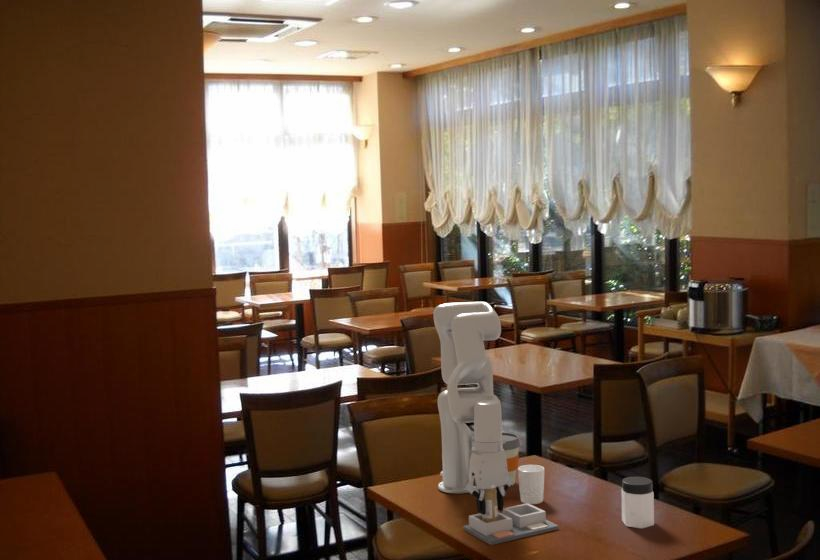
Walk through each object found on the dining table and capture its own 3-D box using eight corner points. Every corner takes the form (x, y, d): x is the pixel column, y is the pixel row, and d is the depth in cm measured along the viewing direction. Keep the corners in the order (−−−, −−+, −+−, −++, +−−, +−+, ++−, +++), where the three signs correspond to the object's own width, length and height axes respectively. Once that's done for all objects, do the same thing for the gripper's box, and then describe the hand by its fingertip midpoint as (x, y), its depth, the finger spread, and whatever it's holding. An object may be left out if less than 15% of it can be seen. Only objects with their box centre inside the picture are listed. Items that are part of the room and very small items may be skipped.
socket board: (463, 529, 258) (462, 515, 258) (529, 514, 268) (528, 501, 268) (490, 545, 246) (490, 530, 246) (558, 529, 256) (558, 514, 256)
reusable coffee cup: (527, 480, 302) (525, 434, 300) (509, 491, 291) (508, 443, 290) (492, 475, 308) (490, 430, 307) (474, 485, 298) (472, 439, 296)
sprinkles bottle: (502, 527, 255) (500, 479, 254) (489, 531, 253) (486, 483, 252) (491, 523, 259) (489, 476, 258) (478, 527, 257) (476, 479, 256)
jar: (617, 525, 257) (616, 482, 256) (626, 516, 264) (625, 474, 263) (650, 530, 253) (649, 486, 252) (657, 520, 260) (657, 478, 259)
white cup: (544, 496, 285) (543, 464, 284) (545, 505, 277) (544, 471, 276) (518, 496, 285) (517, 464, 284) (518, 505, 277) (518, 472, 277)
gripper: (507, 438, 261) (508, 502, 263) (454, 447, 253) (456, 513, 255) (522, 444, 255) (523, 509, 256) (468, 453, 247) (470, 521, 248)
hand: (490, 510), depth 256 cm, fingers open, 5 cm apart
